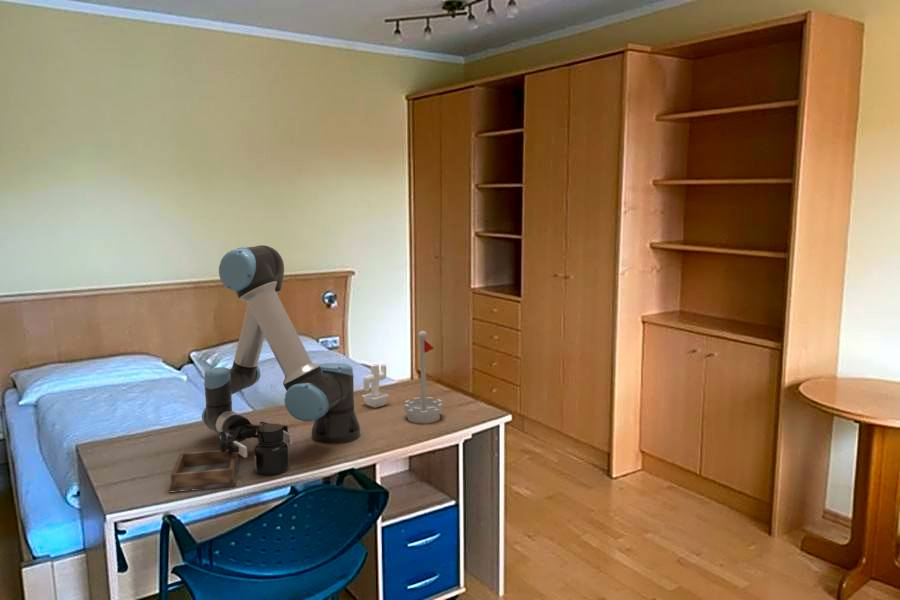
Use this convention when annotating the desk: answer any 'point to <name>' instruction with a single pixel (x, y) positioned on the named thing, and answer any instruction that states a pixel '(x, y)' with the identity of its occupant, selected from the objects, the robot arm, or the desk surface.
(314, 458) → the desk surface
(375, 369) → the figurine
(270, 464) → the ink bottle
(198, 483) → the tray
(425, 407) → the flag stand
